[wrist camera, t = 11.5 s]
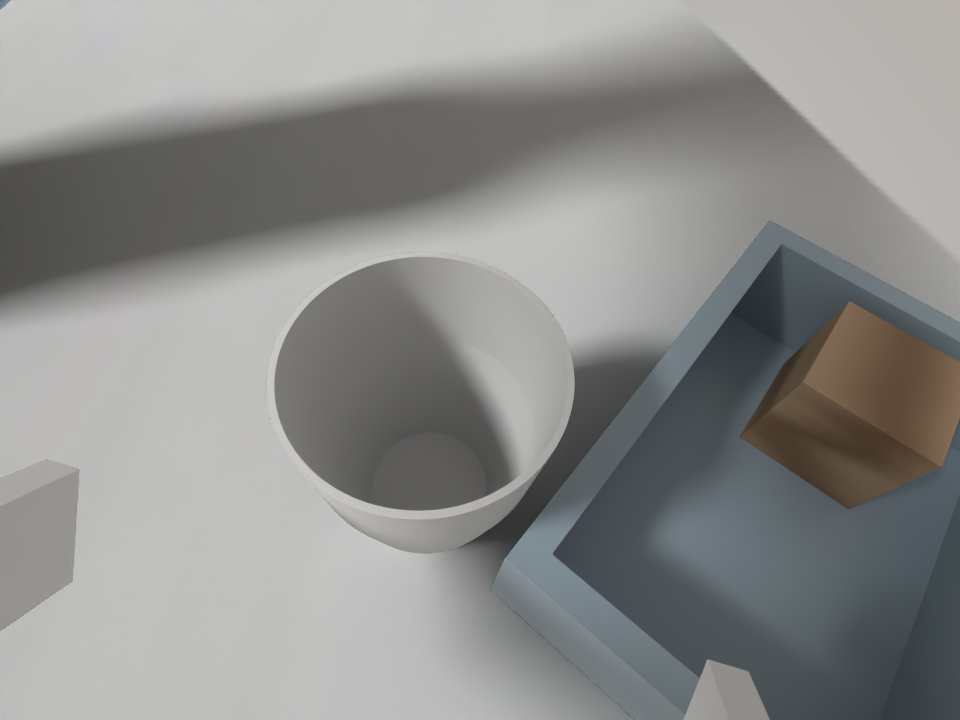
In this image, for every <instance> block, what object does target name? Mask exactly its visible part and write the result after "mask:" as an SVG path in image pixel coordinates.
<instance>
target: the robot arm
mask: <svg viewBox="0 0 960 720" xmlns="http://www.w3.org/2000/svg"><path fill="white" fill-rule="evenodd" d="M9 1H10V0H0V10H1V9H2V8H3V7H4V6H6V5H7V3H8V2H9ZM78 485H79V469H77V468H74V467H71V466H68V465H64V464H61V463H58V462H54V461H51V460H48V459H46V460H44V461H41V462H39V463H36V464H34V465H32V466H29V467H27V468H25V469H22V470H20V471H17V472H15V473H13V474H10V475H8V476H5V477H3V478H1V479H0V631H1V630H3V629H4V628H6V627H7V626H8V625H10V624H11V623H13V622H14V621H16V620H17V619H19V618H20V617H21V616H23V615H24V614H26V613H27V612H29V611H30V610H32V609H33V608H35V607H36V606H37V605H39V604H40V603H42V602H43V601H45V600H46V599H48V598H49V597H50V596H52V595H53V594H55V593H56V592H58V591H59V590H61V589H62V588H63V587H65V586H66V585H68V584H69V583H71V582H72V581H73V565H74V549H75V533H76V517H77V501H78ZM684 720H770V719H769V717H768V715H767V712H766V710H765V708H764V705H763V703H762V701H761V699H760V696H759V694H758V692H757V689H756V687H755V685H754V683H753V680H752V678H751V676H750V674H749V671H745V670H742V669H739V668H735V667H732V666H729V665H725V664H722V663H719V662H715V661H712V660H709V659H707V662H706V664H705V667H704V669H703V672H702V674H701V677H700V679H699V682H698V684H697V687H696V689H695V692H694V694H693V697H692V699H691V702H690V704H689V707H688V709H687V712H686V714H685V717H684Z"/></svg>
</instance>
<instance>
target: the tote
mask: <svg viewBox="0 0 960 720" xmlns="http://www.w3.org/2000/svg"><path fill="white" fill-rule="evenodd" d="M849 301H850V302H852V303H854V304H855V305H857V306H859V307H861V308H863V309H865V310H866V311H868V312H870V313H872V314H874V315H875V316H877V317H879V318H881V319H883V320H884V321H886V322H888V323H890V324H892V325H894V326H895V327H897V328H899V329H901V330H903V331H904V332H906V333H908V334H910V335H912V336H913V337H915V338H917V339H919V340H921V341H923V342H924V343H926V344H928V345H930V346H932V347H933V348H935V349H937V350H939V351H941V352H942V353H944V354H946V355H948V356H950V357H952V358H953V359H955V360H957V361H959V362H960V323H959V322H958V321H956V320H954V319H952V318H950V317H948V316H946V315H945V314H943V313H941V312H939V311H937V310H935V309H933V308H932V307H930V306H928V305H926V304H924V303H922V302H920V301H919V300H917V299H915V298H913V297H911V296H909V295H907V294H906V293H904V292H902V291H900V290H898V289H896V288H895V287H893V286H891V285H889V284H887V283H885V282H883V281H882V280H880V279H878V278H876V277H874V276H872V275H870V274H869V273H867V272H865V271H863V270H861V269H859V268H857V267H856V266H854V265H852V264H850V263H848V262H846V261H844V260H843V259H841V258H839V257H837V256H835V255H833V254H831V253H830V252H828V251H826V250H824V249H822V248H820V247H818V246H817V245H815V244H813V243H811V242H809V241H807V240H805V239H804V238H802V237H800V236H798V235H796V234H794V233H792V232H791V231H789V230H787V229H785V228H783V227H781V226H779V225H778V224H776V223H774V222H772V221H769V222H768V223H767V224H766V226H765V227H764V228H763V230H762V231H761V232H760V233H759V235H758V236H757V237H756V238H755V240H754V241H753V242H752V244H751V245H750V246H749V247H748V249H747V250H746V251H745V253H744V254H743V255H742V256H741V258H740V259H739V260H738V261H737V263H736V264H735V265H734V267H733V268H732V269H731V270H730V272H729V273H728V274H727V275H726V277H725V278H724V279H723V281H722V282H721V283H720V284H719V286H718V287H717V288H716V290H715V291H714V292H713V293H712V295H711V296H710V297H709V298H708V300H707V301H706V302H705V304H704V305H703V306H702V307H701V309H700V310H699V311H698V313H697V314H696V315H695V316H694V318H693V319H692V320H691V321H690V323H689V324H688V325H687V327H686V328H685V329H684V330H683V332H682V333H681V334H680V335H679V337H678V338H677V339H676V341H675V342H674V343H673V344H672V346H671V347H670V348H669V350H668V351H667V352H666V353H665V355H664V356H663V357H662V358H661V360H660V361H659V362H658V364H657V365H656V366H655V367H654V369H653V370H652V371H651V372H650V374H649V375H648V376H647V378H646V379H645V380H644V381H643V383H642V384H641V385H640V387H639V388H638V389H637V390H636V392H635V393H634V394H633V395H632V397H631V398H630V399H629V401H628V402H627V403H626V404H625V406H624V407H623V408H622V410H621V411H620V412H619V413H618V415H617V416H616V417H615V418H614V420H613V421H612V422H611V424H610V425H609V426H608V427H607V429H606V430H605V431H604V432H603V434H602V435H601V436H600V438H599V439H598V440H597V441H596V443H595V444H594V445H593V447H592V448H591V449H590V450H589V452H588V453H587V454H586V455H585V457H584V458H583V459H582V461H581V462H580V463H579V464H578V466H577V467H576V468H575V469H574V471H573V472H572V473H571V475H570V476H569V477H568V478H567V480H566V481H565V482H564V484H563V485H562V486H561V487H560V489H559V490H558V491H557V492H556V494H555V495H554V496H553V498H552V499H551V500H550V501H549V503H548V504H547V505H546V507H545V508H544V509H543V510H542V512H541V513H540V514H539V515H538V517H537V518H536V519H535V521H534V522H533V523H532V524H531V526H530V527H529V528H528V529H527V531H526V532H525V533H524V535H523V536H522V537H521V538H520V540H519V541H518V542H517V544H516V545H515V546H514V547H513V549H512V550H511V551H510V552H509V554H508V555H507V556H506V558H505V559H504V562H503V564H502V566H501V568H500V570H499V572H498V574H497V576H496V578H495V581H494V583H493V585H492V587H491V589H490V590H491V591H493V592H494V593H495V594H496V595H497V596H498V597H499V598H500V599H501V600H503V601H504V602H505V603H506V604H507V605H508V606H509V607H510V608H511V609H513V610H514V611H515V612H516V613H517V614H518V615H519V616H520V617H521V618H523V619H524V620H525V621H526V622H527V623H528V624H529V625H530V626H531V627H533V628H534V629H535V630H536V631H537V632H538V633H539V634H540V635H541V636H543V637H544V638H545V639H546V640H547V641H548V642H549V643H550V644H551V645H553V646H554V647H555V648H556V649H557V650H558V651H559V652H560V653H561V654H562V655H564V656H565V657H566V658H567V659H568V660H569V661H570V662H571V663H572V664H574V665H575V666H576V667H577V668H578V669H579V670H580V671H581V672H582V673H584V674H585V675H586V676H587V677H588V678H589V679H590V680H591V681H592V682H594V683H595V684H596V685H597V686H598V687H599V688H600V689H601V690H602V691H604V692H605V693H606V694H607V695H608V696H609V697H610V698H611V699H612V700H614V701H615V702H616V703H617V704H618V705H619V706H620V707H621V708H622V709H624V710H625V711H626V712H627V713H628V714H629V715H630V716H631V717H632V718H633V719H635V720H684V717H685V714H686V712H687V709H688V707H689V704H690V702H691V699H692V697H693V694H694V692H695V689H696V687H697V684H698V682H699V679H700V677H701V674H702V672H703V669H704V667H705V664H706V662H707V659H709V660H712V661H715V662H719V663H722V664H725V665H729V666H732V667H735V668H739V669H742V670H745V671H749V674H750V676H751V678H752V680H753V683H754V685H755V687H756V689H757V692H758V694H759V696H760V699H761V701H762V703H763V705H764V708H765V710H766V712H767V715H768V717H769V719H770V720H960V419H959V422H958V424H957V427H956V430H955V433H954V435H953V438H952V441H951V444H950V446H949V449H948V452H947V455H946V457H945V460H944V463H943V465H942V468H939V469H937V470H935V471H933V472H930V473H928V474H926V475H924V476H922V477H919V478H917V479H915V480H913V481H910V482H908V483H906V484H904V485H901V486H899V487H897V488H895V489H893V490H890V491H888V492H886V493H884V494H881V495H879V496H877V497H875V498H873V499H870V500H868V501H866V502H864V503H861V504H859V505H857V506H855V507H853V508H850V509H847V508H845V507H844V506H842V505H841V504H839V503H838V502H836V501H835V500H833V499H832V498H830V497H829V496H827V495H826V494H824V493H823V492H821V491H820V490H818V489H817V488H815V487H814V486H812V485H811V484H809V483H808V482H806V481H805V480H803V479H802V478H800V477H799V476H797V475H796V474H794V473H793V472H791V471H790V470H788V469H787V468H785V467H784V466H782V465H781V464H779V463H778V462H776V461H775V460H773V459H772V458H770V457H769V456H767V455H766V454H764V453H763V452H761V451H760V450H758V449H757V448H755V447H754V446H752V445H751V444H749V443H748V442H746V441H745V440H743V439H742V438H740V435H741V433H742V432H743V430H744V428H745V427H746V425H747V423H748V422H749V420H750V418H751V417H752V415H753V414H754V412H755V410H756V409H757V407H758V405H759V404H760V402H761V400H762V399H763V397H764V395H765V394H766V392H767V390H768V389H769V387H770V386H771V384H772V382H773V381H774V379H775V377H776V376H777V374H778V372H779V371H780V369H781V367H782V366H783V364H784V363H785V362H786V361H787V360H788V359H789V358H790V357H791V356H793V355H794V354H795V353H796V352H797V351H798V350H799V349H800V348H801V347H802V346H803V345H804V344H805V343H806V342H807V341H808V340H809V339H810V338H811V337H812V336H813V335H814V334H815V333H816V332H817V331H819V330H820V329H821V328H822V327H823V326H824V325H825V324H826V323H827V322H828V321H829V320H830V319H831V318H832V317H833V316H834V315H835V314H836V313H837V312H838V311H839V310H840V309H841V308H842V307H844V306H845V305H846V304H847V303H848V302H849Z"/></svg>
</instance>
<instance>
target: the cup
mask: <svg viewBox="0 0 960 720" xmlns="http://www.w3.org/2000/svg"><path fill="white" fill-rule="evenodd" d="M574 388H575V378H574V367H573V361H572V357H571V353H570V349H569V346H568V343H567V341H566V338H565V336H564V334H563V332H562V330H561V328H560V326H559V324H558V322H557V321H556V319H555V318H554V316H553V315H552V313H551V312H550V311H549V309H548V308H547V307H546V306H545V304H544V303H543V302H542V301H541V300H540V299H539V298H538V297H537V296H536V295H535V294H534V293H533V292H532V291H531V290H529V289H528V288H527V287H526V286H525V285H523V284H522V283H521V282H519V281H518V280H516V279H515V278H513V277H512V276H510V275H508V274H507V273H505V272H503V271H501V270H499V269H497V268H495V267H493V266H490V265H488V264H486V263H483V262H480V261H477V260H474V259H471V258H467V257H463V256H458V255H453V254H446V253H436V252H410V253H400V254H394V255H388V256H384V257H379V258H376V259H372V260H369V261H366V262H363V263H361V264H358V265H356V266H353V267H351V268H349V269H347V270H345V271H343V272H341V273H339V274H337V275H336V276H334V277H332V278H331V279H329V280H328V281H326V282H325V283H323V284H322V285H321V286H319V287H318V288H317V289H315V290H314V291H313V292H312V293H311V294H310V295H309V296H308V297H306V298H305V299H304V300H303V302H302V303H301V304H300V305H299V306H298V307H297V308H296V309H295V311H294V312H293V313H292V314H291V316H290V317H289V319H288V320H287V322H286V323H285V325H284V326H283V328H282V330H281V332H280V334H279V336H278V338H277V340H276V342H275V345H274V347H273V350H272V353H271V357H270V361H269V365H268V371H267V379H266V397H267V406H268V411H269V416H270V420H271V423H272V426H273V429H274V432H275V434H276V436H277V438H278V441H279V443H280V444H281V446H282V448H283V450H284V451H285V453H286V454H287V456H288V457H289V459H290V460H291V461H292V463H293V464H294V465H295V466H296V467H297V469H298V470H299V471H300V472H301V473H302V474H303V475H304V477H305V478H306V479H307V480H308V481H309V482H310V483H311V484H312V486H313V487H314V488H315V489H316V490H317V491H318V492H319V494H320V495H321V496H322V497H323V498H324V499H325V500H326V501H327V503H328V504H329V505H330V506H331V507H332V508H333V509H334V510H335V512H336V513H337V514H338V515H339V516H340V517H341V518H342V519H344V520H345V521H346V522H347V523H348V524H350V525H351V526H352V527H354V528H355V529H357V530H358V531H360V532H362V533H364V534H365V535H367V536H369V537H371V538H374V539H376V540H378V541H380V542H382V543H384V544H386V545H389V546H391V547H393V548H396V549H399V550H403V551H407V552H412V553H439V552H444V551H448V550H452V549H455V548H458V547H460V546H463V545H465V544H467V543H469V542H470V541H472V540H474V539H475V538H477V537H478V536H480V535H481V534H483V533H484V532H486V531H487V530H489V529H490V528H492V527H493V526H495V525H496V524H497V523H499V522H500V521H501V520H502V519H503V518H505V517H506V516H507V515H508V514H509V513H510V512H511V511H512V510H513V509H514V508H515V506H516V505H517V504H518V503H519V502H520V500H521V499H522V497H523V496H524V495H525V493H526V492H527V490H528V489H529V487H530V486H531V484H532V483H533V481H534V480H535V478H536V477H537V475H538V474H539V472H540V471H541V469H542V468H543V466H544V465H545V463H546V462H547V460H548V459H549V457H550V456H551V454H552V453H553V451H554V450H555V448H556V446H557V445H558V443H559V441H560V439H561V437H562V435H563V433H564V431H565V429H566V426H567V423H568V421H569V417H570V414H571V410H572V405H573V399H574Z"/></svg>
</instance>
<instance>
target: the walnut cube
mask: <svg viewBox="0 0 960 720" xmlns="http://www.w3.org/2000/svg"><path fill="white" fill-rule="evenodd" d="M959 419H960V362H959V361H957V360H955V359H953V358H952V357H950V356H948V355H946V354H944V353H942V352H941V351H939V350H937V349H935V348H933V347H932V346H930V345H928V344H926V343H924V342H923V341H921V340H919V339H917V338H915V337H913V336H912V335H910V334H908V333H906V332H904V331H903V330H901V329H899V328H897V327H895V326H894V325H892V324H890V323H888V322H886V321H884V320H883V319H881V318H879V317H877V316H875V315H874V314H872V313H870V312H868V311H866V310H865V309H863V308H861V307H859V306H857V305H855V304H854V303H852V302H850V301H849V302H848V303H847V304H846V305H845V306H844V307H842V308H841V309H840V310H839V311H838V312H837V313H836V314H835V315H834V316H833V317H832V318H831V319H830V320H829V321H828V322H827V323H826V324H825V325H824V326H823V327H822V328H821V329H820V330H819V331H817V332H816V333H815V334H814V335H813V336H812V337H811V338H810V339H809V340H808V341H807V342H806V343H805V344H804V345H803V346H802V347H801V348H800V349H799V350H798V351H797V352H796V353H795V354H794V355H793V356H791V357H790V358H789V359H788V360H787V361H786V362H785V363H784V364H783V366H782V367H781V369H780V371H779V372H778V374H777V376H776V377H775V379H774V381H773V382H772V384H771V386H770V387H769V389H768V390H767V392H766V394H765V395H764V397H763V399H762V400H761V402H760V404H759V405H758V407H757V409H756V410H755V412H754V414H753V415H752V417H751V418H750V420H749V422H748V423H747V425H746V427H745V428H744V430H743V432H742V433H741V435H740V438H742V439H743V440H745V441H746V442H748V443H749V444H751V445H752V446H754V447H755V448H757V449H758V450H760V451H761V452H763V453H764V454H766V455H767V456H769V457H770V458H772V459H773V460H775V461H776V462H778V463H779V464H781V465H782V466H784V467H785V468H787V469H788V470H790V471H791V472H793V473H794V474H796V475H797V476H799V477H800V478H802V479H803V480H805V481H806V482H808V483H809V484H811V485H812V486H814V487H815V488H817V489H818V490H820V491H821V492H823V493H824V494H826V495H827V496H829V497H830V498H832V499H833V500H835V501H836V502H838V503H839V504H841V505H842V506H844V507H845V508H847V509H850V508H853V507H855V506H857V505H859V504H861V503H864V502H866V501H868V500H870V499H873V498H875V497H877V496H879V495H881V494H884V493H886V492H888V491H890V490H893V489H895V488H897V487H899V486H901V485H904V484H906V483H908V482H910V481H913V480H915V479H917V478H919V477H922V476H924V475H926V474H928V473H930V472H933V471H935V470H937V469H939V468H942V465H943V463H944V460H945V457H946V455H947V452H948V449H949V446H950V444H951V441H952V438H953V435H954V433H955V430H956V427H957V424H958V422H959Z"/></svg>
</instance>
